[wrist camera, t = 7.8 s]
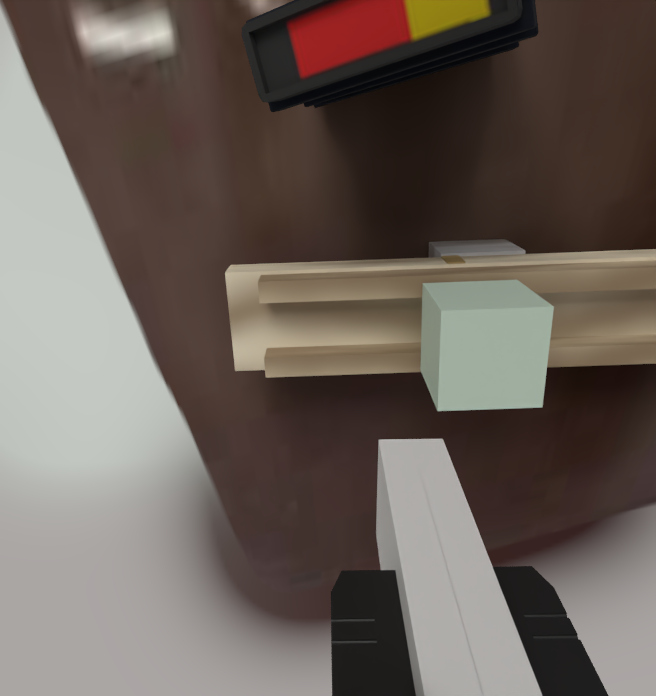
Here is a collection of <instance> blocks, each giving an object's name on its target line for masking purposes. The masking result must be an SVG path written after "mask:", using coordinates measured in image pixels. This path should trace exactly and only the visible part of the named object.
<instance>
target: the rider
mask: <svg viewBox="0 0 656 696" xmlns="http://www.w3.org/2000/svg"><path fill="white" fill-rule="evenodd" d="M553 311H554V306H552V305H551V304H550V303H548V302H547V301H545V300H544V299H543V298H541V297H540V296H539V295H537V294H536V293H535V292H533V291H532V290H531V289H529V288H528V287H526V286H525V285H524V284H522V283H521V282H520V281H518V280H494V281H467V282H440V283H423V287H422V326H421V366H420V370H421V373H422V375H423V377H424V380H425V382H426V385H427V387H428V390H429V392H430V394H431V397H432V399H433V402H434V404H435V406H436V409H437V411H458V410H486V409H514V408H542V407H543V398H544V390H545V381H546V372H547V363H548V355H549V346H550V337H551V328H552V319H553Z"/></svg>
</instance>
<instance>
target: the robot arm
mask: <svg viewBox="0 0 656 696" xmlns="http://www.w3.org/2000/svg"><path fill="white" fill-rule="evenodd" d="M376 537H377V545H378V552H379V560H380V568H381V570H360V571H341V573H340V575H339V577H338V579H337V581H336V583H335V585H334V587H333V589H332V591H331V637H332V640H331V641H332V642H331V643H332V696H608V694H607V692H606V690H605V688H604V686H603V684H602V682H601V680H600V678H599V676H598V674H597V672H596V671H595V668H594V666H593V664H592V662H591V660H590V658H589V656H588V655H587V652H586V651H585V648H584V646H583V644H582V642H581V641H580V640H578V637H577V633H576V631H575V629H574V627H573V625H572V623H571V621H570V619H569V618H567V615H566V614H567V613H566V611H565V609H564V607H563V605H562V603H561V601H560V599H559V597H558V595H557V593H556V591H555V589H554V588H553V586H552V585H550V583H549V582H547V581H546V580H545V579H544V578H543V577H542V576H541V575H540V574H539V573H538V572H537V571H536V570H535V569H534V568H533V567H532V566H521V567H492V565H491V562H490V559H489V557H488V554H487V552H486V549H485V546H484V544H483V541H482V539H481V536H480V534H479V531H478V528H477V526H476V523H475V521H474V518H473V515H472V513H471V510H470V508H469V505H468V503H467V500H466V497H465V495H464V492H463V490H462V487H461V485H460V482H459V479H458V477H457V474H456V472H455V469H454V467H453V464H452V461H451V459H450V456H449V454H448V451H447V449H446V446H445V443H444V441H443V439H384V440H379V443H378V481H377V519H376Z"/></svg>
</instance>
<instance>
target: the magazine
mask: <svg viewBox="0 0 656 696" xmlns="http://www.w3.org/2000/svg"><path fill="white" fill-rule="evenodd" d="M537 34H538V24H537V16H536V7H535V0H294V1H292V2H289V3H287V4H285V5H283V6H280V7H278V8H276V9H273V10H271V11H269V12H266V13H264V14H262V15H259V16H257V17H255V18H252V19H250V20H248V21H247V22H246V24H245V25H244V26H243V27H242V38H243V41H244V45H245V48H246V52H247V55H248V59H249V62H250V66H251V69H252V73H253V76H254V80H255V83H256V87H257V90H258V94H259V97H260V98H261V100H262V101H263V102H268V103H269V106H270V110H271V112H276V111H281V110H284V109H287V108H290V107H293V106H296V105H299V104H302V103H304V106H305V107H309V106H312V105H314V107H315V108H317V107H320V106H323V105H327V104H330V103H333V102H337V101H340V100H344V99H347V98H350V97H354V96H357V95H361V94H364V93H367V92H371V91H374V90H377V89H381V88H384V87H388V86H391V85H394V84H398V83H401V82H404V81H408V80H411V79H415V78H418V77H421V76H425V75H428V74H432V73H435V72H438V71H442V70H445V69H448V68H452V67H455V66H459V65H462V64H465V63H469V62H472V61H475V60H479V59H482V58H486V57H489V56H492V55H496V54H499V53H503V52H506V51H509V50H513V49H515V48H517V47H518V46H519V43H518V41H522V40H525V39H528V38H531V37H534V36H536V35H537Z"/></svg>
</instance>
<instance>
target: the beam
mask: <svg viewBox="0 0 656 696" xmlns="http://www.w3.org/2000/svg"><path fill="white" fill-rule="evenodd" d="M525 252H526V251H525V250H524V249H522V248H520V247H518V246H516V245H515V244H513V243H511V242H509V241H508V240H506V239H491V240H464V241H437V242H429V258H405V259H378V260H351V261H324V262H298V263H271V264H244V265H230V266H229V268H228V269H227V271H226V272H225V277H226V287H227V297H228V306H229V316H230V326H231V335H232V345H233V354H234V364H235V371H250V370H265V375H266V378H269V377H296V376H324V375H352V374H379V373H407V372H421V370H420V366H421V326H422V287H423V283H440V282H467V281H494V280H518V281H520V282H521V283H522V284H524V285H525V286H526V287H528V288H529V289H531V290H532V291H533V292H535V293H536V294H537V295H539V296H540V297H541V298H543V299H544V300H545V301H547V302H548V303H550V304H551V305H552V306H554V311H553V319H552V328H551V337H550V346H549V355H548V363H547V367H573V366H601V365H628V364H656V249H646V250H619V251H593V252H566V253H539V254H525Z"/></svg>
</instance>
